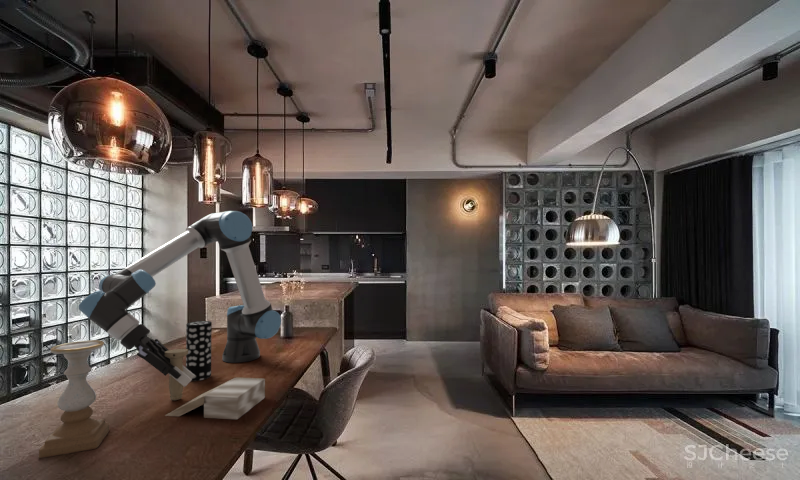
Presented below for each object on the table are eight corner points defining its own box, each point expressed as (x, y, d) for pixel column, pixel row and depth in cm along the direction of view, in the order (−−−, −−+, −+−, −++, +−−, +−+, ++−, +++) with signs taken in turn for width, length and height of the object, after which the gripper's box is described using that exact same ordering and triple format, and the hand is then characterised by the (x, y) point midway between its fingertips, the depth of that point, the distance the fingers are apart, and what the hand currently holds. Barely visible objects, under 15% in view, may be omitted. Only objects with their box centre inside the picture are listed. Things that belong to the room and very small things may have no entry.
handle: (184, 400, 120) (185, 352, 120) (161, 402, 119) (162, 353, 119) (189, 395, 125) (190, 348, 125) (167, 396, 123) (168, 349, 124)
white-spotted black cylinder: (189, 382, 137) (189, 326, 138) (183, 377, 144) (184, 323, 144) (214, 377, 143) (214, 323, 144) (207, 372, 149) (208, 320, 150)
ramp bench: (200, 400, 126) (201, 376, 126) (264, 403, 123) (264, 378, 123) (164, 421, 110) (165, 394, 110) (237, 425, 107) (237, 397, 107)
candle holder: (37, 458, 87) (39, 352, 88) (57, 437, 97) (59, 342, 98) (97, 448, 92) (98, 347, 92) (110, 429, 102) (111, 337, 102)
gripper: (129, 335, 125) (186, 381, 130) (108, 348, 110) (173, 400, 114) (148, 318, 127) (204, 364, 132) (130, 328, 111) (193, 380, 116)
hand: (189, 380), depth 123 cm, fingers closed on handle, 4 cm apart
